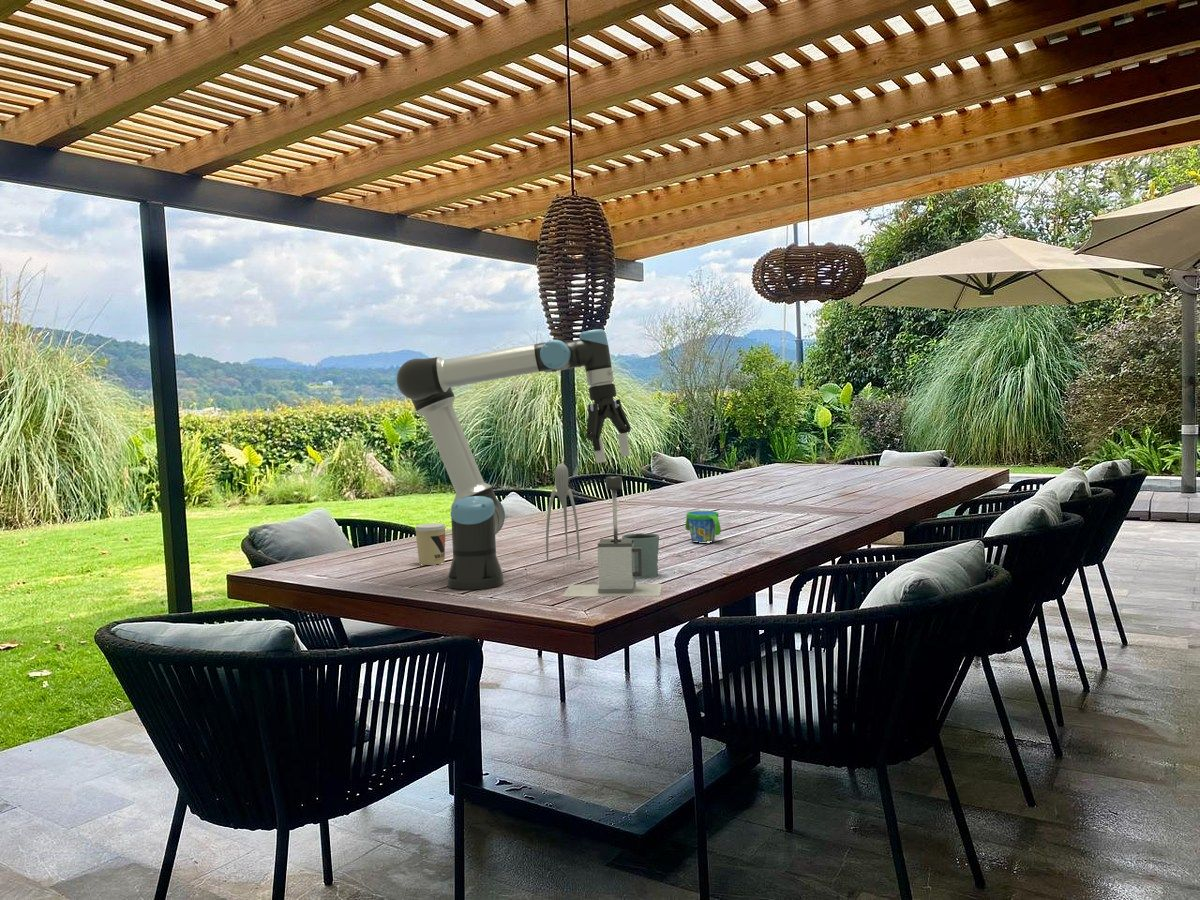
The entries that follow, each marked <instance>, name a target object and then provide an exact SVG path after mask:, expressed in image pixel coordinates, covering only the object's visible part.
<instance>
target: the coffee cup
mask: <svg viewBox="0 0 1200 900" xmlns="http://www.w3.org/2000/svg"><path fill="white" fill-rule="evenodd" d="M446 528H447V526H446V524H444V523H439V522H438V523H437V522H436V523H433V522H432V523H431V522H430V523H422V524H418V525H416V526H415V528H414V530H415V538H416V546H417V547H416V548H417V557H418V563H419V565H420V564H422V565H435V564H441V563H444V564H445V559H446ZM422 565H421V566H422ZM441 565H442V564H441ZM435 566H436V565H435Z"/></svg>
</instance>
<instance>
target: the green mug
mask: <svg viewBox="0 0 1200 900" xmlns="http://www.w3.org/2000/svg"><path fill="white" fill-rule="evenodd" d="M621 539H634V547H642V576H635V579H650V578H654V577H657V576H658V574H659V568H658V567H659V566H658V563H659V559H658V558H659V555H658V554H659V549H660V548H659V547H660V546H659V543H660V542H659V541H660V535H659V534H657V533H630V534H629V533H628V534H625V535H622V536H621ZM634 567H635V572H639V565H638V552H634Z"/></svg>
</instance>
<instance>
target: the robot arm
mask: <svg viewBox="0 0 1200 900" xmlns="http://www.w3.org/2000/svg"><path fill="white" fill-rule="evenodd" d="M609 346H610V345H609V341H608V339H607V333H606V331H605V330H604V329H602V328H600V329H599V328H598V329H592V330H591V329H590V330H586V331H582V332H580V333H579V338H578V339H577V340H573V341H568V342H564V341H562V340H560V339H551V340H550V339H549V340H548V341H545V342H539V343H535V344H534V343H533V344H528V345H522V346H521V345H520V346H517V347H515V346H514V347H510V348H504V349H499V350H494V351H487V352H482V353H476V354H471V355H463V356H459V357H453V358H446V359H444V358H442V357H441V356H435V357H430V358H428V357H427V358H411V359H409V360H406V361H405V362H404V363H403V364H402V365H401V366H400V367H399V369H398V372H397V374H396V385H397V387H398V390H399V391H400V392H401V393H402V395H403V396H404V397H406V398H407V399H409V400H411V402H412V405H413V407H414V409H415V411H416V413H417V414H418V415H421V416H423V418H424V420H425V421H426V424H427V426H428V429H429V431H430V433H431V437H432V439H433V442H434V443H435V446H436V448H437V451H438V452H439V456H440V458H441V460H442V462H443V465H444V468H445V470H446V472H447V475H448V477H449V480H450V482H451V484H452V486H453V489H454V492H455V496H454V499H453V502H452V504H451V507H450V509H451V510H450V517H451V521H450V522H451V537H452V538H451V542H452V560H451V564H450V567H449V571H448V575H447V587H448V588H450V589H453V588H454V590H465V591H466V590H482V589H483V590H485V589H489V588H495V587H499V586H501V585H503V584H504V573H503V570H502V568H501V565H500V562H499V560H498V557H497V546H496V543H497V542H496V541H497V540H496V535H497V534H498V533H499V532H500V531H501V530H502V528H503V527H504V523H505V520H506V512H505V508H504V506H503V504H502V503H501V501H500V500H499V499H498V498H497V496H496V494H495V491H494V489H493V487H492V485H491V484H489V483H486V482H485V481H484V479H483V477H482V474H481V471H480V468H479V466H478V464H477V461H476V460H475V456H474V454H473V453H472V449H471V447H470V444H469V442H468V440H467V437H466V435H465V433H464V430H463V428H462V425H461V423H460V420H459V418H458V416H457V413H456V411H455V408H454V406H453V404H454V401H455V399H456V396H455V395H454V392H453V389H452V388H454V387H460V386H465V385H471V384H476V383H483V382H488V381H494V380H498V379H499V380H500V379H504V378H505V379H506V378H511V377H516V376H523V375H527V374H534V373H540V372H544V373H551V372H552V373H556V372H560V371H564V370H570V369H575V368H582V367H584V370H585V376H586V383H587V386H589V388H588V394H589V399H590V400H591V401H594V403H589V404H587V408H588V409H587V410H588V416H587V425H586V438H587V440H588V441H592V447H593V451H594V457H595V462H596V464H599V463H606V462H607V459H606V455H605V454H606V453H605V446H604V442H603V438H601V434H602V432H603V431H602V430H603V427H604V423H605V420H606V419H607V418H608V419H610V422H611V423H612V424H613V425H614V427H615V429H616V430H617V432H618V433H617V439H618V445H619V450H620V456H621V457H628V456H631V450H630V445H629V439H628V438H629V437H628V433H630V432H631V428H632V426H631V425H630V422H629V420H628V418H627V415H626V413H625V411H624V409H623V407H622V403H621V399H620V398H619V399H614V398H615V397H616V396H617V390H616V385H615V384H614V383H613V382H614V380H615V378H614V372H613V367H612V360H611V354H610V348H609Z"/></svg>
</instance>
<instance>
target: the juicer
mask: <svg viewBox="0 0 1200 900" xmlns="http://www.w3.org/2000/svg"><path fill="white" fill-rule="evenodd" d="M568 469H569V468H568V467H567V466H566V464H564V463H563V462H561V463H558V465H557V466H556V467H555V470H554V479H555V481H554V483H555V489H556V490H555V489H552V490H551V494H550V498H549V503H548V508H547V514H546V515H547V517H546V529H545V531H546V533H545V549H546V551H545V552H546V553H545V554H546V556H545V557H546V562H549V533H550V519H551V513H552V506H553V502H554V498H555V496H557V497H558V500H559V503H560V506H561V508H562V509H563V519H564V520H563V521H564V533H565V534H564V535H565V549H566V551H565V552H566V556H567V555H568V553H569V552H568V548H569V547H568V509H567V508H568V506H567V496H568V497H569V500H570V504H571V508H572V513H573V516H574V517H573V518H574V525H575V533H576V542H577V554H578V556H577V557H578V559H577V560H578V561H579V560H580V561H581V551H580V550H581V549H580V547H581V546H580V533H579V532H580V531H579V522H578V515H577V508H576V504H575V499H574V496H573V492H572V489H571V488H569V470H568ZM568 556H569V555H568Z"/></svg>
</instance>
